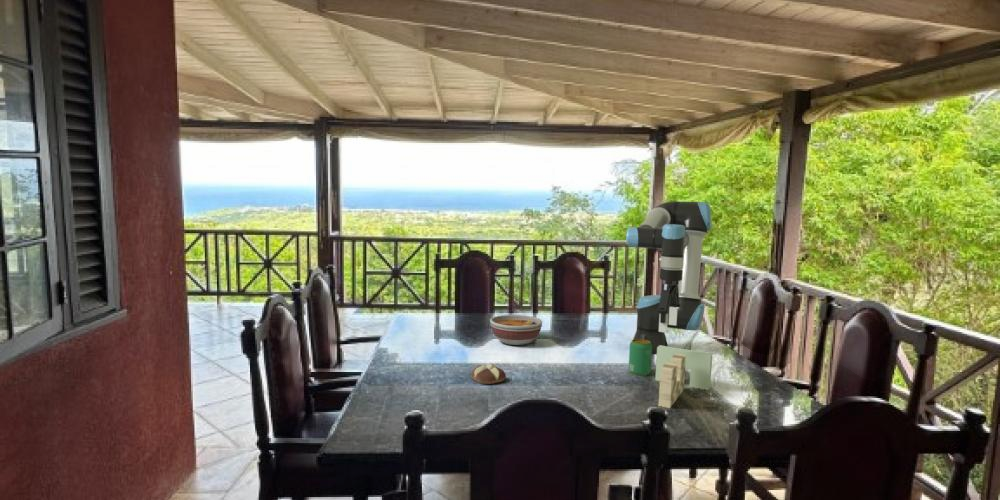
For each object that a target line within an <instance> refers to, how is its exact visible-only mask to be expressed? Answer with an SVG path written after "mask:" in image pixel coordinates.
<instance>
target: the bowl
mask: <svg viewBox="0 0 1000 500" xmlns="http://www.w3.org/2000/svg"><path fill="white" fill-rule="evenodd" d="M489 322H490V323H489V324H490V328H491V331H492V333H493V335H494V336H495V338H497V340H499V341H500V342H501V343H502V344H505V345H509V346H510V345H511V346H525V345H528V344H530V343H532V342H533V341H534V340H535V339H536V338H537V337H538V336H539V334H540V333H541V330H542V327H543V320H542V319H540V318H538V317H536V316H532V315H531V316H530V315H523V314H503V315H497V316H493V317H491V318H489Z"/></svg>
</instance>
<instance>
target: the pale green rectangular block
mask: <svg viewBox="0 0 1000 500" xmlns="http://www.w3.org/2000/svg"><path fill="white" fill-rule="evenodd" d="M674 354H681V355H686V363H685V370H689V371H690V374H689V387H690V388H693V387H694V389H698V388H700V389H699V390H704V389H705V391H709V390H710V389H711V384H712V381H711V380H712V379H711V378H712V368H713V366H712V365H713V353H711V352H705V351H699V350H698V351H697V350H691V349H686V348H678V347H674V346H669V345H668V346H661V345H659V346H658V347H657V354H656V358H655V359H656V361H655V379H654V380H655V381H658V382H660V371H661V368H662V367H663V366H664V365H665V364H666V363H670V358H671V357H672V356H673V355H674ZM709 388H710V389H709Z"/></svg>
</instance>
